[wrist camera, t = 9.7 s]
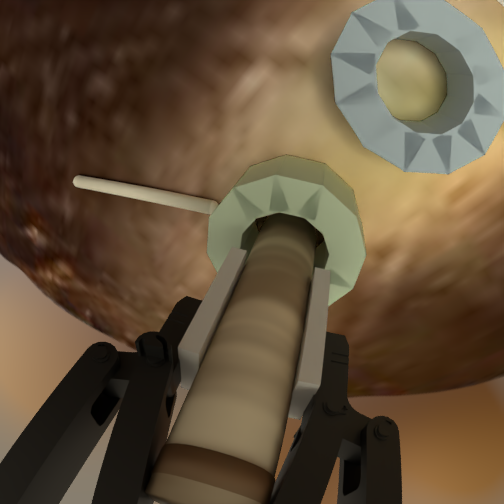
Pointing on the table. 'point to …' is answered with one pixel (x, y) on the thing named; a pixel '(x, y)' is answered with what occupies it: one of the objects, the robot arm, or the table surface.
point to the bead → (298, 204)
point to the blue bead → (458, 85)
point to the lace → (147, 194)
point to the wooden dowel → (243, 379)
